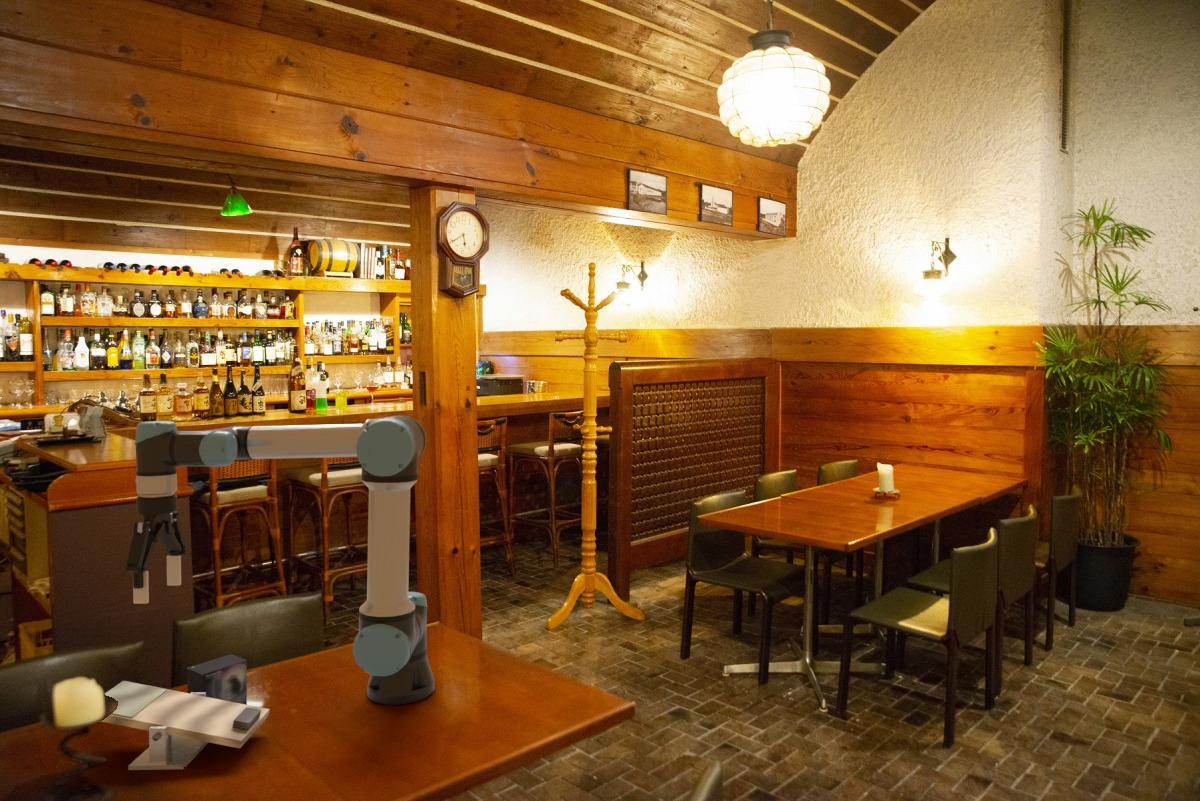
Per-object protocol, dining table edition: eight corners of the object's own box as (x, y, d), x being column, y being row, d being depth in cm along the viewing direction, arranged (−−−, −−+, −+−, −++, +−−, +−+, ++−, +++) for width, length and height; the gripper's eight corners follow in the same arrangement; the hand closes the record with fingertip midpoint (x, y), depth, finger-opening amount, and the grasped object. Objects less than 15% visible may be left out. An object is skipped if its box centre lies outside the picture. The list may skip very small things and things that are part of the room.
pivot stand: (224, 726, 166) (224, 690, 165) (183, 769, 148) (182, 729, 147) (176, 726, 165) (175, 691, 165) (128, 770, 147) (127, 730, 147)
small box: (203, 722, 167) (202, 673, 167) (185, 715, 171) (185, 667, 170) (248, 705, 176) (248, 658, 176) (231, 698, 180) (230, 653, 179)
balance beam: (268, 716, 164) (271, 702, 164) (240, 748, 150) (243, 733, 150) (122, 687, 163) (125, 673, 163) (80, 717, 149) (83, 702, 149)
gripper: (168, 485, 180) (169, 578, 180) (104, 504, 155) (106, 611, 155) (202, 485, 180) (203, 578, 181) (143, 504, 155) (145, 611, 156)
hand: (158, 593), depth 168 cm, fingers open, 13 cm apart
